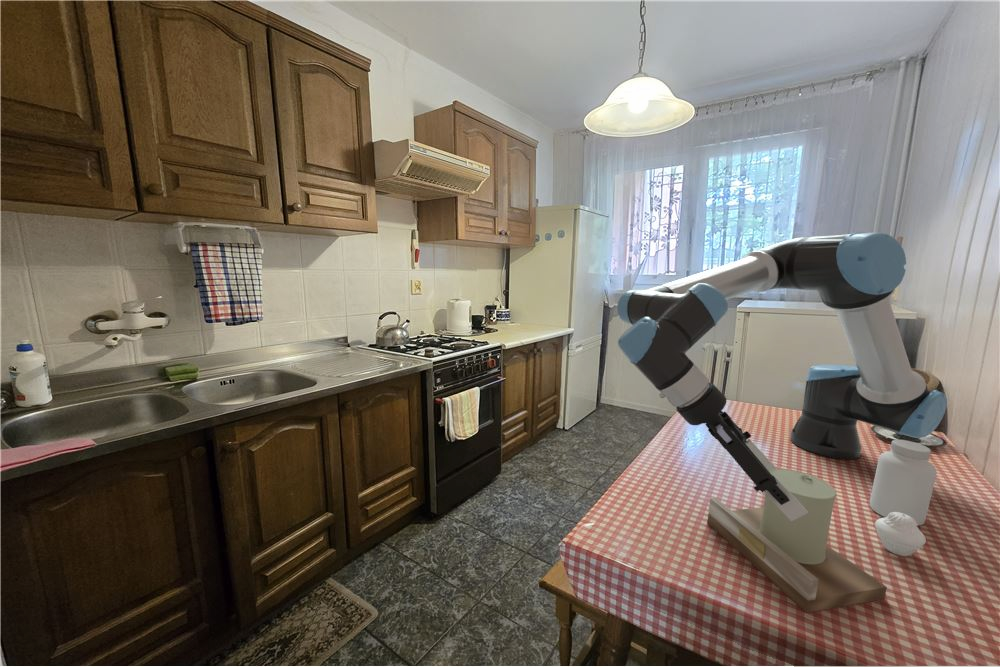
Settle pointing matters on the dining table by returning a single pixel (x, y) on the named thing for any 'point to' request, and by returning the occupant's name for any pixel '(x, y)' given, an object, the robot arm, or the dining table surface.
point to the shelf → (795, 564)
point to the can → (808, 531)
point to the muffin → (900, 534)
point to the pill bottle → (904, 481)
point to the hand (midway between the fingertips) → (782, 491)
